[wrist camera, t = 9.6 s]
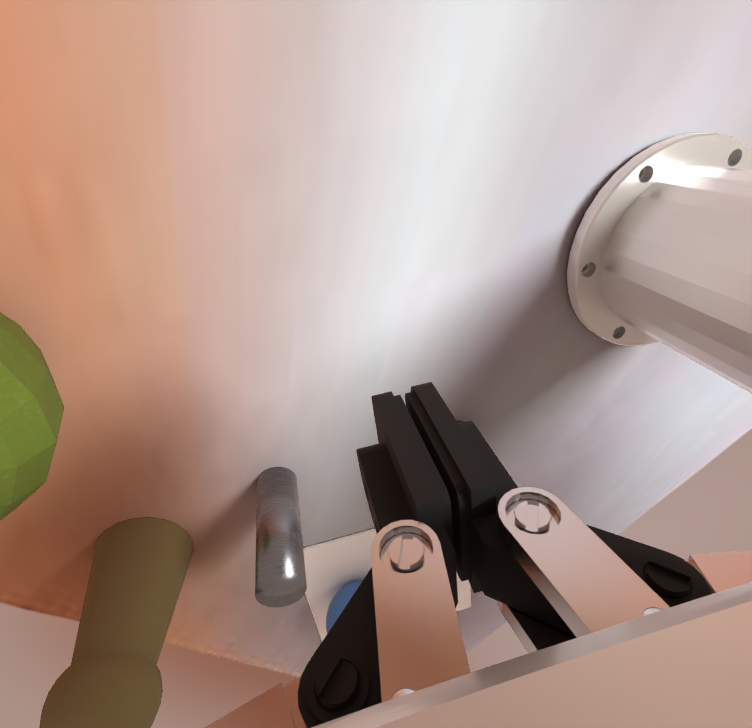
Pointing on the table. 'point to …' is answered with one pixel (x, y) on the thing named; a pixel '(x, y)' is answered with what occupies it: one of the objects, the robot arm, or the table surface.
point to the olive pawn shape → (122, 628)
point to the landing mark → (346, 572)
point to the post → (278, 540)
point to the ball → (340, 603)
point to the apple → (24, 416)
